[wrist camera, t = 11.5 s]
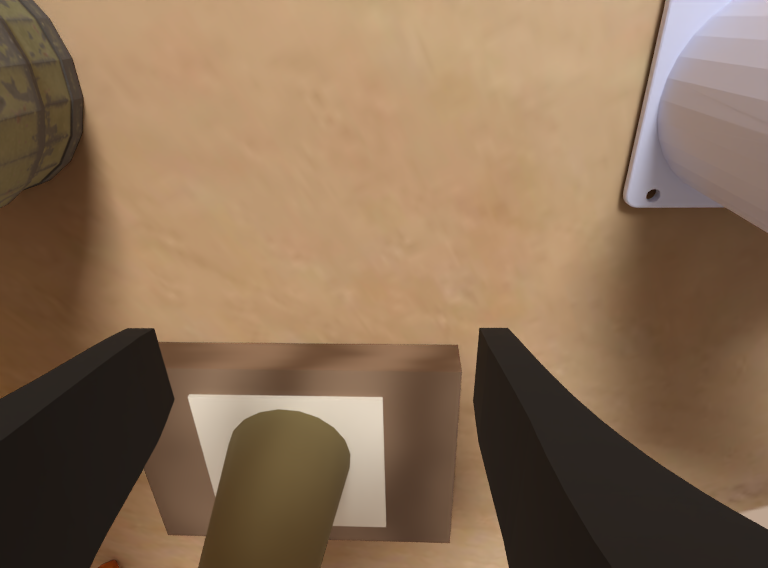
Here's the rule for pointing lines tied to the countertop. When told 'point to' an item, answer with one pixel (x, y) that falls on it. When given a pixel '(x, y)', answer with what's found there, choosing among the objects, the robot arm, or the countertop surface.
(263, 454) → the olive pawn piece
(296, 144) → the countertop surface
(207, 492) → the walnut plinth
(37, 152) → the thermos
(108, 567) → the carrot
